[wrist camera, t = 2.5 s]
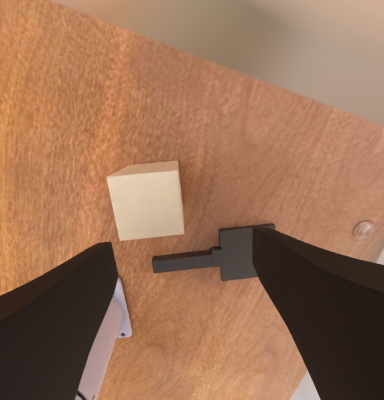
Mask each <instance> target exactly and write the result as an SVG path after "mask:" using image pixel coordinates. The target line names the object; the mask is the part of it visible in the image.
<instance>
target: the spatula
mask: <svg viewBox="0 0 384 400" xmlns="http://www.w3.org/2000/svg"><path fill="white" fill-rule="evenodd" d="M257 227H267V228H270V229H273V230H275V225H274V224H265V225H255V226H246V227H236V228H227V229H219V239H220V247H214V248H210V250H211V251H200V252H191V253H182V254H173V255H164V256H155V257H153V259H152V266H153V272H154V273H160V272H169V271H178V270H187V269H196V268H205V267H219V266H221V279H222V281H227V280H236V279H244V278H253V277H258V275H257V273H256V271H255V268H254V266H253V263H252V233H253V228H257Z"/></svg>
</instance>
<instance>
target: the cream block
mask: <svg viewBox="0 0 384 400" xmlns="http://www.w3.org/2000/svg"><path fill="white" fill-rule="evenodd" d="M107 183H108V188H109V193H110V197H111V202H112V207H113V212H114V216H115V221H116V226H117V230H118V235H119V240H120V241H123V240H133V239H142V238H152V237H161V236H171V235H180V234H184V218H183V204H182V194H181V184H180V175H179V165H178V161H166V162H155V163H144V164H133V165H128V166H126V167H125V168H123V169H121V170H119V171H117V172H115V173H113V174H111V175H109V176H108V177H107Z"/></svg>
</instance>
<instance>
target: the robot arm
mask: <svg viewBox="0 0 384 400" xmlns="http://www.w3.org/2000/svg"><path fill="white" fill-rule="evenodd" d="M252 263H253V266H254V268H255V271H256V273H257V275H258V278H259V280H260V281H261V283H262V285H263V287H264V288H265V290H266V292H267V293H268V295H269V297H270V298H271V300H272V302H273V303H274V305H275V307H276V308H277V310H278V312H279V313H280V315H281V317H282V318H283V320H284V322H285V324H286V325H287V327H288V329H289V331H290V333H291V335H292V337H293V339H294V341H295V344H296V346H297V348H298V350H299V352H300V354H301V356H302V358H303V361H304V363H305V365H306V367H307V369H308V372H309V374H310V376H311V378H312V380H313V382H314V385H315V387H316V390H317V392H318V394H319V397H320V399H321V400H384V265H381V264H377V263H372V262H368V261H363V260H359V259H355V258H351V257H348V256H344V255H341V254H337V253H334V252H331V251H328V250H324V249H322V248H319V247H316V246H313V245H310V244H308V243H305V242H302V241H300V240H297V239H295V238H293V237H290V236H288V235H285V234H283V233H280V232H278V231H276V230H273V229H270V228H267V227H257V228H253V233H252ZM131 335H132V327H131V322H130V318H129V313H128V309H127V304H126V300H125V296H124V291H123V287H122V282H121V279H120V278H119V276H118V272H117V267H116V262H115V258H114V253H113V248H112V244H111V242H103V243H98V244H95V245H93V246H91V247H90V248H88V249H86V250H84V251H83V252H81V253H79V254H78V255H76V256H74V257H73V258H71V259H69V260H68V261H66V262H64V263H63V264H61V265H59V266H57V267H56V268H54V269H52V270H50V271H49V272H47V273H45V274H43V275H42V276H40V277H38V278H36V279H34V280H32V281H30V282H28V283H26V284H24V285H22V286H20V287H18V288H16V289H14V290H12V291H10V292H8V293H6V294H3V295H1V296H0V400H97V399H98V396H99V393H100V390H101V386H102V383H103V380H104V377H105V374H106V370H107V367H108V364H109V361H110V357H111V354H112V351H113V348H114V345H115V341H116V339H117V338H125V337H130V336H131Z"/></svg>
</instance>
